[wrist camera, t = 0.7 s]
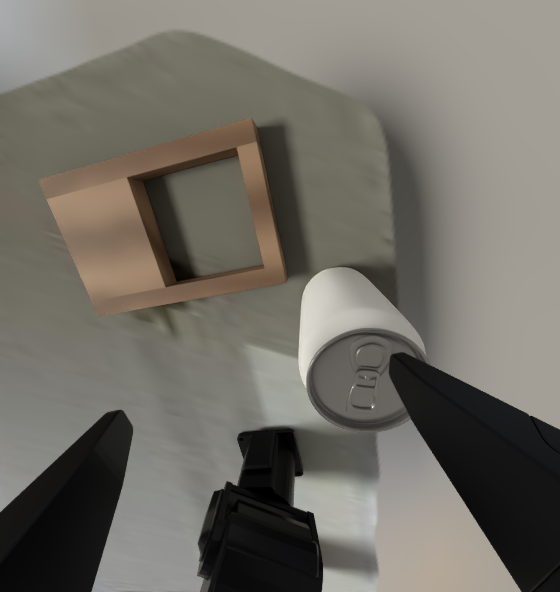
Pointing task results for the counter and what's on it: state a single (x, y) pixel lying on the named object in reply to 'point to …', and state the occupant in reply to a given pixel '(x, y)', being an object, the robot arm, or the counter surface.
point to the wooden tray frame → (143, 227)
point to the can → (353, 351)
